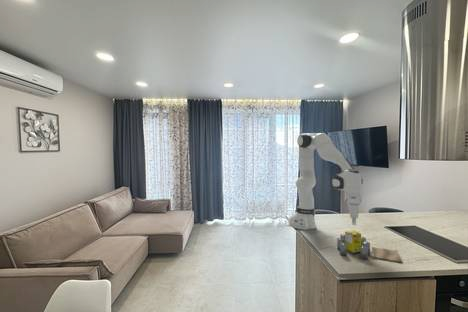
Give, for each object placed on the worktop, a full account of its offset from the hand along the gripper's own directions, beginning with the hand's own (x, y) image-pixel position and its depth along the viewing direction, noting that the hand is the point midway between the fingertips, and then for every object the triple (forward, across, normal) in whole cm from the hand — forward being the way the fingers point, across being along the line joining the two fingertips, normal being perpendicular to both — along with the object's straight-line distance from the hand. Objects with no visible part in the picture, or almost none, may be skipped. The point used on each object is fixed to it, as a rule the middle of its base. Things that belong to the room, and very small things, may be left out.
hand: (353, 222), depth 129 cm
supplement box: (+17, 0, -1) cm, 17 cm away
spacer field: (+17, 0, -1) cm, 17 cm away
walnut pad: (+17, -2, +15) cm, 23 cm away
